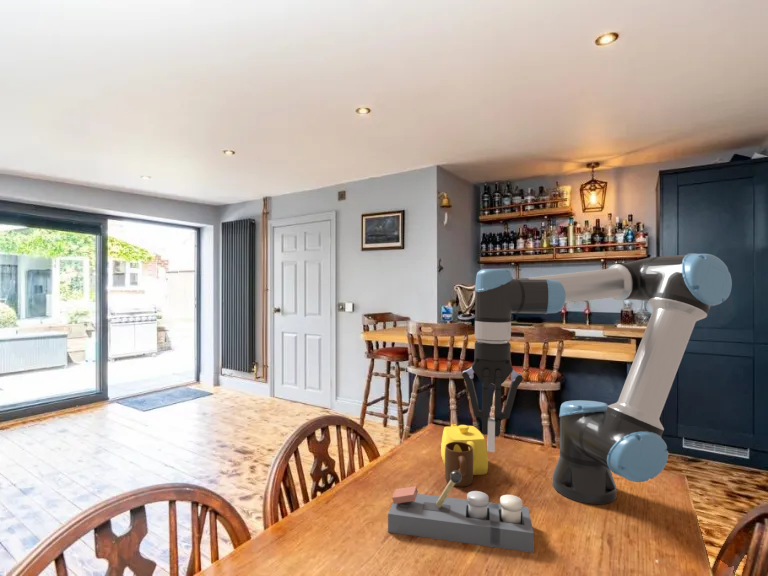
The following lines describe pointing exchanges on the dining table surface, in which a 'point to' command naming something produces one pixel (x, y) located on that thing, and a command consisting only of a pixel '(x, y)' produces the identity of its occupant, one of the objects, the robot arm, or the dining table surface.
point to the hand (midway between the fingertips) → (490, 449)
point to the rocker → (405, 495)
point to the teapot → (470, 437)
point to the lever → (449, 486)
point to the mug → (459, 462)
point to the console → (460, 523)
